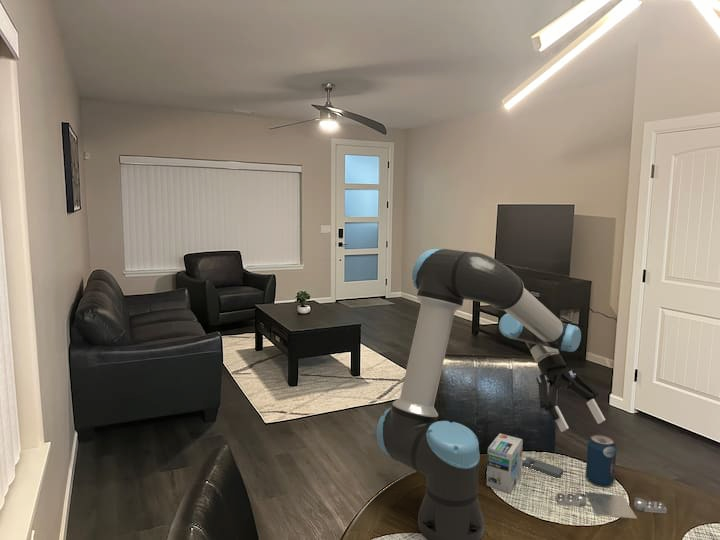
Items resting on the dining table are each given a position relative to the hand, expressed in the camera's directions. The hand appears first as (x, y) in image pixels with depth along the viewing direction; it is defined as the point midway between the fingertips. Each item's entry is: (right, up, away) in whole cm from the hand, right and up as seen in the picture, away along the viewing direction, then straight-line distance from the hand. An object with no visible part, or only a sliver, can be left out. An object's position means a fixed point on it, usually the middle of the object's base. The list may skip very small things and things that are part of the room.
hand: (583, 426), depth 143 cm
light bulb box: (-24, -13, -5) cm, 28 cm away
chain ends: (-1, -15, -17) cm, 22 cm away
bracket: (-12, -13, 0) cm, 17 cm away
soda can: (+2, -13, -5) cm, 15 cm away
